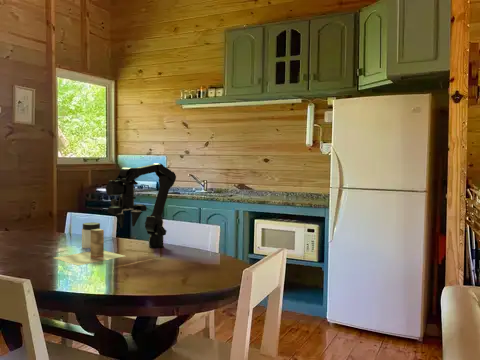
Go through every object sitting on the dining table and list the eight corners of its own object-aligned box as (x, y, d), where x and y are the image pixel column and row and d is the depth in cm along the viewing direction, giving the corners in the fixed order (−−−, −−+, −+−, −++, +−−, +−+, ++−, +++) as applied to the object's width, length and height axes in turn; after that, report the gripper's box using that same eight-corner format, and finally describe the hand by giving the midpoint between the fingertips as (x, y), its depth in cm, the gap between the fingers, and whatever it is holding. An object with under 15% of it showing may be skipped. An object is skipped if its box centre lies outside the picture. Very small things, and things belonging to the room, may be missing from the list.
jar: (102, 248, 221) (102, 224, 220) (86, 250, 216) (86, 225, 215) (95, 245, 228) (95, 221, 227) (79, 247, 223) (79, 223, 222)
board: (99, 250, 214) (100, 249, 214) (126, 257, 202) (126, 256, 202) (52, 259, 195) (52, 257, 195) (78, 266, 183) (78, 265, 183)
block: (98, 255, 203) (98, 228, 202) (103, 256, 200) (103, 229, 200) (90, 256, 199) (90, 229, 199) (95, 257, 197) (95, 230, 196)
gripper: (132, 192, 224) (132, 223, 224) (100, 194, 209) (100, 227, 210) (147, 193, 217) (147, 225, 217) (115, 195, 202) (115, 230, 203)
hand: (127, 227), depth 212 cm, fingers open, 6 cm apart
